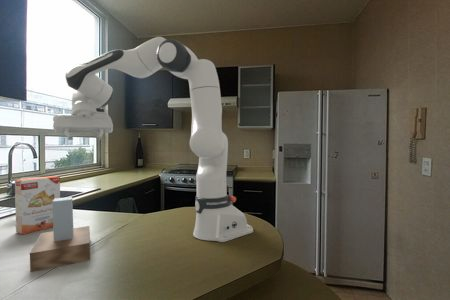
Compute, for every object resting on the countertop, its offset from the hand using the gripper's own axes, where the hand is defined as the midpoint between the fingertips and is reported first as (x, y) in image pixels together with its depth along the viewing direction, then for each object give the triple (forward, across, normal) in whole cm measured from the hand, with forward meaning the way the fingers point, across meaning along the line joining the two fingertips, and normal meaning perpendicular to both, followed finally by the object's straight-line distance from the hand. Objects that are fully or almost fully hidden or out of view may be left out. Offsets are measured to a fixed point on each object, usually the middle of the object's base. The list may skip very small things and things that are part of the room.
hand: (84, 138), depth 95 cm
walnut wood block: (+37, -7, +14) cm, 40 cm away
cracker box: (+13, -18, +39) cm, 44 cm away
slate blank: (+33, -7, +11) cm, 35 cm away
